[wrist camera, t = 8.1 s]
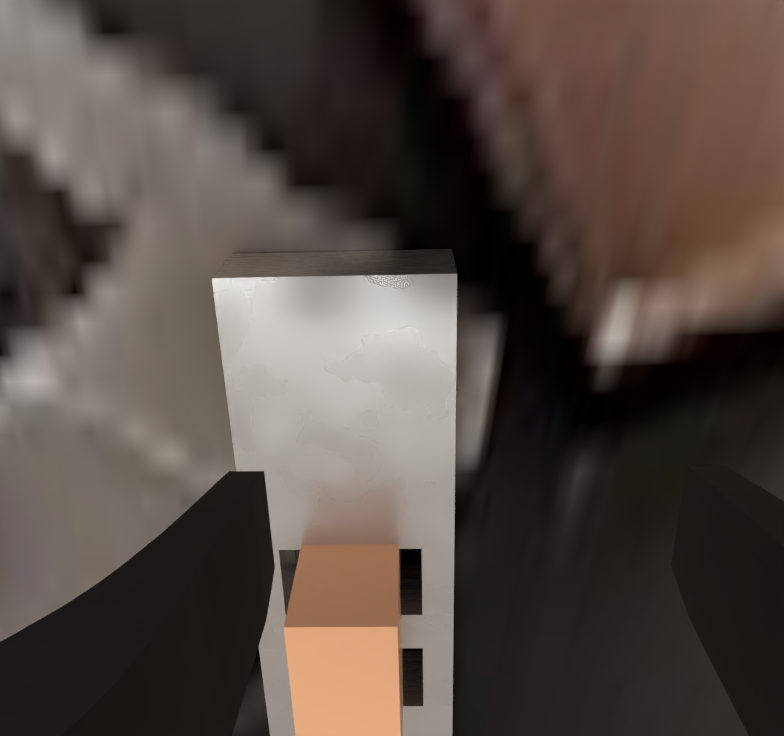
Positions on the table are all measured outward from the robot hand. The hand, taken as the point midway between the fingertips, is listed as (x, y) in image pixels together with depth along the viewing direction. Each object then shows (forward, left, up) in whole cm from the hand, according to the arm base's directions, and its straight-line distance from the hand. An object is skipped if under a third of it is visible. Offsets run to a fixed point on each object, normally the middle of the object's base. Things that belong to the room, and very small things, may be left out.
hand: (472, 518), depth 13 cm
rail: (+3, +10, -10) cm, 15 cm away
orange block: (+3, +10, -10) cm, 15 cm away
